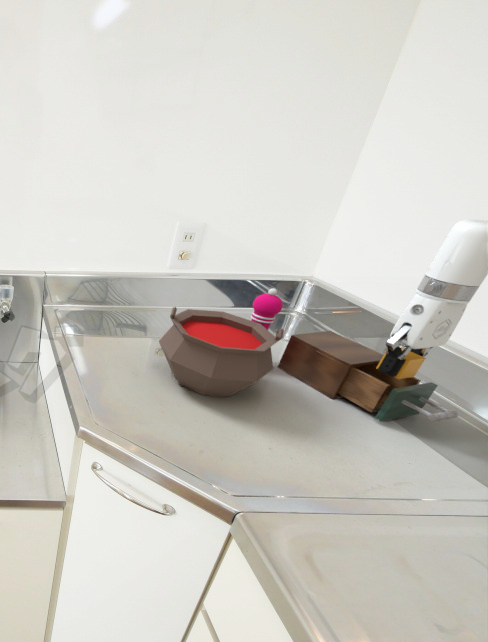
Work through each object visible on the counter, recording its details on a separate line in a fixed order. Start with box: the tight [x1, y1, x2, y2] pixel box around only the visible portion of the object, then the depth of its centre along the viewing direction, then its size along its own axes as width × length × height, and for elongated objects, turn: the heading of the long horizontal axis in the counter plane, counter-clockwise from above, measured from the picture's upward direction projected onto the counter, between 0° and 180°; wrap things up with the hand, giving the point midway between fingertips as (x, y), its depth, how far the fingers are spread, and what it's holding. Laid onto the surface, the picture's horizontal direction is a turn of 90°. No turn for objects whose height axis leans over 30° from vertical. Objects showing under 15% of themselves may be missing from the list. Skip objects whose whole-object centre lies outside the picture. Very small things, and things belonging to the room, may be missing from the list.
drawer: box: [338, 363, 459, 422], centre depth 90 cm, size 20×11×7 cm, turn 16°
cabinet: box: [277, 330, 384, 400], centre depth 101 cm, size 15×13×9 cm
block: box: [376, 347, 427, 379], centre depth 87 cm, size 4×4×4 cm
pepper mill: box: [250, 287, 284, 331], centre depth 104 cm, size 7×7×20 cm
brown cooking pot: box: [158, 306, 285, 398], centre depth 96 cm, size 24×24×16 cm
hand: (395, 371), depth 88 cm, fingers closed on block, 4 cm apart
